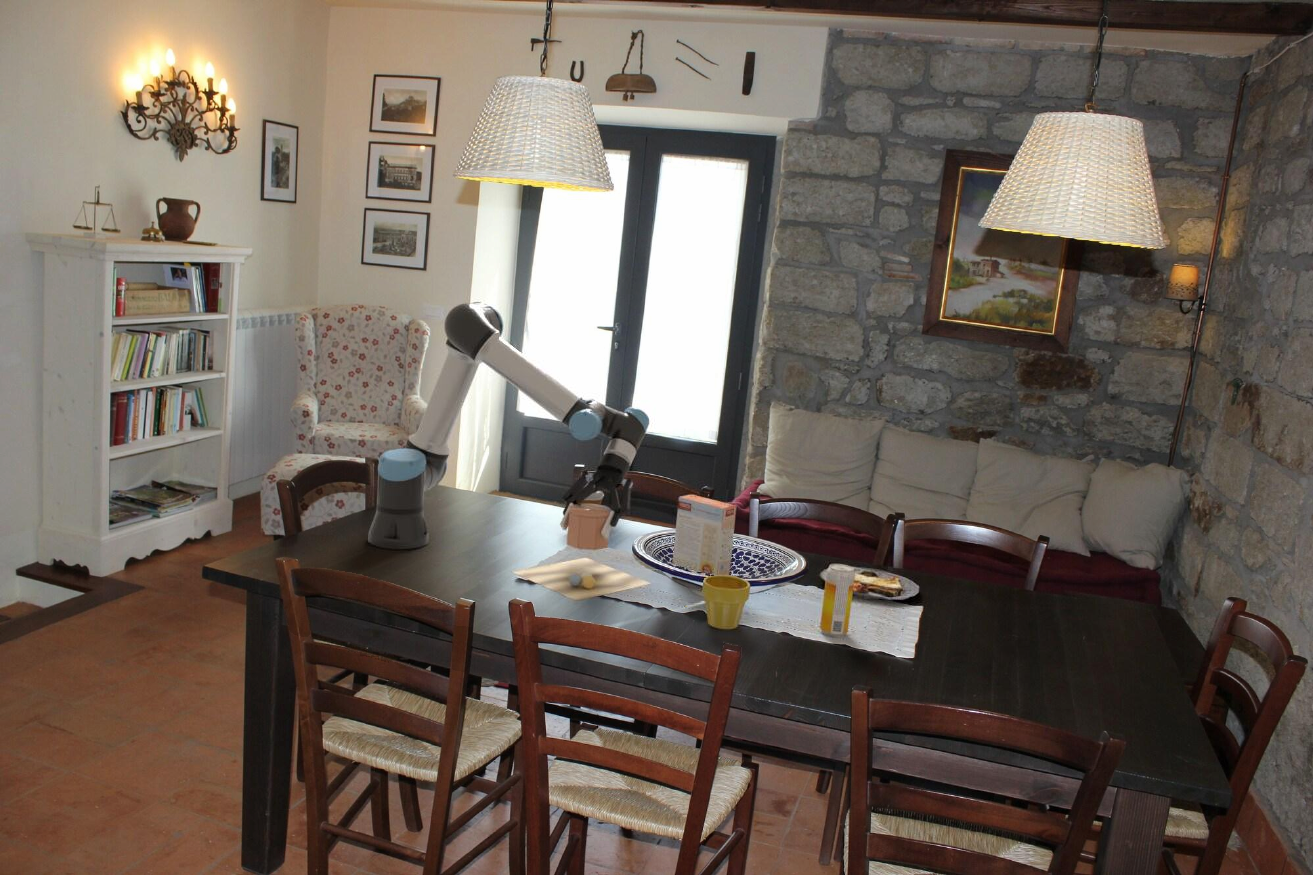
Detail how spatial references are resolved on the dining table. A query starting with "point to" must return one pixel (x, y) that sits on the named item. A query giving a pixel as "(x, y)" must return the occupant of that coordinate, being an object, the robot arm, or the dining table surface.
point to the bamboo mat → (560, 573)
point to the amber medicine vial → (837, 600)
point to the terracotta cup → (587, 526)
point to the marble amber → (588, 582)
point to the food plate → (880, 584)
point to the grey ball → (575, 580)
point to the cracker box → (704, 535)
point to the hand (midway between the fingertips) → (583, 531)
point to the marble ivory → (585, 575)
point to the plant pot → (725, 600)
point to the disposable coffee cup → (594, 498)
